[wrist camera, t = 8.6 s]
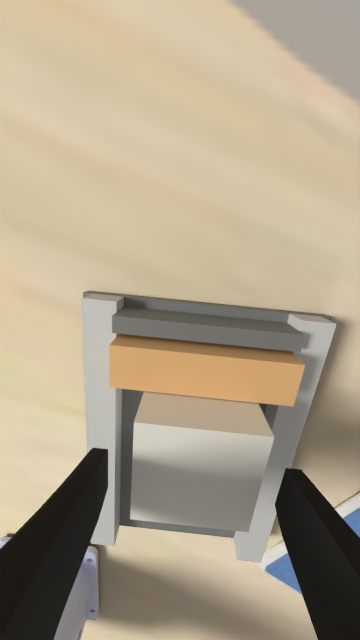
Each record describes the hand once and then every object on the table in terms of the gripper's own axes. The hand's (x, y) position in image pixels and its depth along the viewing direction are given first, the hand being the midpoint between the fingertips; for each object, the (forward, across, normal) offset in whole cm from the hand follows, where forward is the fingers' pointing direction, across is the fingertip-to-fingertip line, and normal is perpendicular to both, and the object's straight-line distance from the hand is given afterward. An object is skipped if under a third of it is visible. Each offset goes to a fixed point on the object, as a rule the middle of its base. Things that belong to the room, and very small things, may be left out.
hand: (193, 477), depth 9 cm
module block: (+4, 0, 0) cm, 4 cm away
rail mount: (+5, 0, +2) cm, 5 cm away
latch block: (+5, 0, -4) cm, 6 cm away
